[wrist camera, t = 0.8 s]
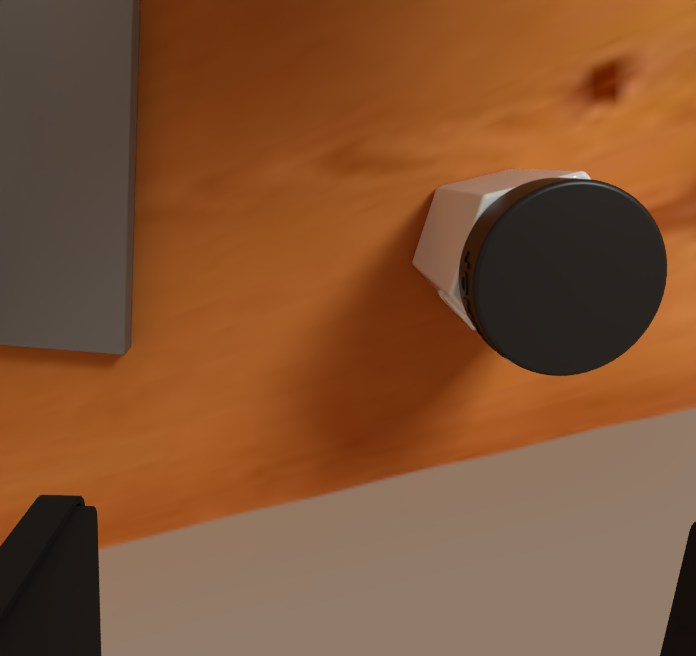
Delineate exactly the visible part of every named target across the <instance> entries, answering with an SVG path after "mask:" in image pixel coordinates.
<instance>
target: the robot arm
mask: <svg viewBox="0 0 696 656" xmlns="http://www.w3.org/2000/svg"><path fill="white" fill-rule="evenodd" d="M98 563H99V561H98V525H97V511H96V508H95V507H94V506H85V503H84V499H83V498H82V496H65V495H40V496H39V497H38V498H37V499H36V500H35V502H34V503H33V504H32V506H31V507H30V508H29V509H28V511H27V512H26V513H25V515H24V516H23V517H22V519H21V520H20V521H19V523H18V524H17V525H16V527H15V528H14V529H13V531H12V532H11V533H10V534H9V536H8V537H7V538H6V540H5V541H4V542H3V544H2V545H1V546H0V656H101V636H100V635H101V634H100V599H99V598H100V597H99V564H98ZM660 656H696V522H694V523H693V525H692V526H691V529H690V532H689V536H688V541H687V545H686V549H685V553H684V558H683V562H682V566H681V570H680V574H679V578H678V583H677V587H676V591H675V595H674V599H673V604H672V608H671V612H670V616H669V621H668V625H667V629H666V633H665V637H664V642H663V646H662V650H661V654H660Z"/></svg>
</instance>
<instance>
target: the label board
mask: <svg viewBox="0 0 696 656" xmlns="http://www.w3.org/2000/svg"><path fill="white" fill-rule="evenodd" d="M139 27H140V0H0V345H7V346H20V347H32V348H45V349H57V350H70V351H82V352H95V353H108V354H120V355H124V354H125V353H126V352H127V351H128V350H129V349H130V347H131V317H132V280H133V244H134V208H135V172H136V135H137V99H138V63H139Z"/></svg>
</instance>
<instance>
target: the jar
mask: <svg viewBox="0 0 696 656" xmlns="http://www.w3.org/2000/svg"><path fill="white" fill-rule="evenodd" d="M412 263H413V265H414V267H415V268H416V269H417V270H418V271H419V272H420V273H421V274H422V275H423V276H424V278H425V279H426V280H427V281H428V282H429V283H430V284H431V285H432V286H433V287H434V288H435V290H436V291H437V292H438V294H439V296H440V297H441V298H442V300H443V301H444V302H445V303H446V304H447V305H448V306H449V307H450V308H451V309H452V310H453V311H454V312H455V313H456V314H457V315H458V316H459V317H460V318H461V319H462V320H463V321H464V322H465V323H466V324H467V326H468V327H469V328H470V329H472V330H473V331H474V330H475V331H476V332H477V333H478V334H479V335H480V336H481V337H482V339H483V340H484V341H485V342H486V343H487V344H488V345H489V346H490V347H491V348H492V349H493V350H495V351H496V352H498V353H499V354H500V355H501V356H502V357H504V358H505V359H506V360H507V361H508V362H510V363H514V364H516V365H518V366H520V367H522V368H524V369H527V370H529V371H532V372H536V373H540V374H545V375H554V376H567V375H575V374H581V373H585V372H588V371H591V370H594V369H597V368H599V367H602V366H604V365H606V364H608V363H610V362H611V361H613V360H615V359H616V358H618V357H619V356H621V355H622V354H623V353H625V352H626V351H627V350H628V349H629V348H630V347H632V346H633V345H634V344H635V343H636V342H637V340H638V339H639V338H640V337H641V336H642V335H643V333H644V332H645V331H646V329H647V328H648V327H649V325H650V323H651V322H652V320H653V318H654V316H655V315H656V313H657V311H658V308H659V306H660V303H661V300H662V297H663V294H664V289H665V285H666V277H667V257H666V250H665V245H664V242H663V238H662V235H661V233H660V230H659V228H658V226H657V224H656V222H655V220H654V219H653V217H652V216H651V214H650V213H649V212H648V211H647V209H646V208H645V207H644V206H643V205H642V204H641V203H640V202H639V201H638V200H637V199H636V198H634V197H633V196H632V195H630V194H629V193H627V192H625V191H624V190H622V189H620V188H618V187H616V186H614V185H611V184H608V183H605V182H602V181H597V180H591V178H590V177H589V176H588V175H587V173H586V172H584V171H567V170H537V169H509V170H505V171H501V172H497V173H492V174H488V175H484V176H480V177H476V178H472V179H468V180H463V181H459V182H455V183H451V184H447V185H443V186H439V187H438V188H437V189H436V191H435V194H434V197H433V200H432V203H431V206H430V210H429V213H428V216H427V219H426V222H425V225H424V228H423V231H422V234H421V237H420V240H419V243H418V246H417V249H416V252H415V255H414V258H413V262H412Z"/></svg>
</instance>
